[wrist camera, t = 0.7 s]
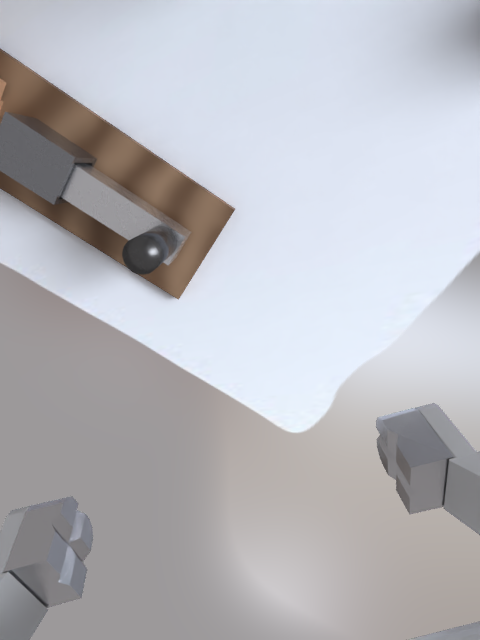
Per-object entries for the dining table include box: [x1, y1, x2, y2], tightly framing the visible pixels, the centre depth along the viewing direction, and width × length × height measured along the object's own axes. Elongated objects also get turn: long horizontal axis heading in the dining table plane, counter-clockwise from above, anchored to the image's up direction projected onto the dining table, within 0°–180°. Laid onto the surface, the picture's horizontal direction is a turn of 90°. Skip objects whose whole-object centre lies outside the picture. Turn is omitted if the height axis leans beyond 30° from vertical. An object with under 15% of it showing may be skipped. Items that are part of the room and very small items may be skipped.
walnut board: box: [0, 49, 235, 299], centre depth 48 cm, size 37×14×2 cm, turn 57°
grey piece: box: [60, 163, 191, 275], centre depth 42 cm, size 21×4×12 cm, turn 57°
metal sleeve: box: [0, 111, 97, 205], centre depth 44 cm, size 8×6×6 cm
